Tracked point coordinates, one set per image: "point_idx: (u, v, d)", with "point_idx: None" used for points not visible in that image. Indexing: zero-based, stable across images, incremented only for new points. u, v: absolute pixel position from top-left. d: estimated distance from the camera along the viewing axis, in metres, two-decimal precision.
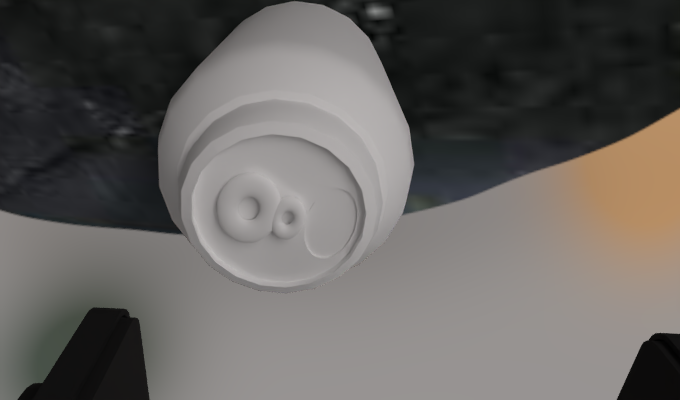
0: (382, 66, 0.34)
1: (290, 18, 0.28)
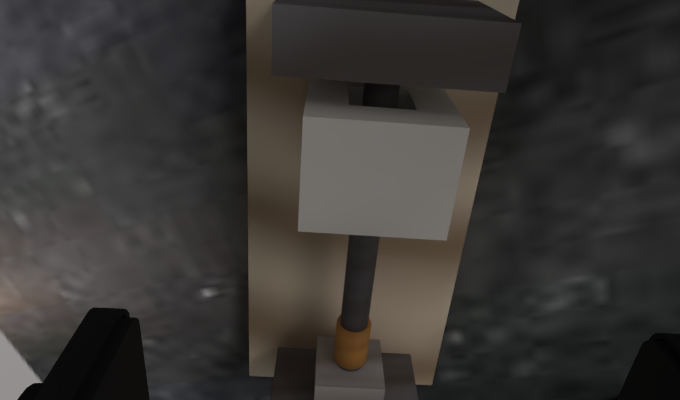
0: None
1: None
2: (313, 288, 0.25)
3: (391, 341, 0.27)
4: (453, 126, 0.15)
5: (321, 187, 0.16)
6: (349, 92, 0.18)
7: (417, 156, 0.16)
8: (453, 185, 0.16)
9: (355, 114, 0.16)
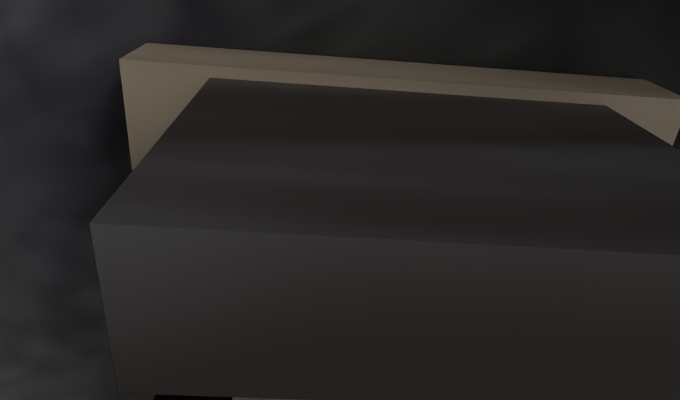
0: None
1: None
2: None
3: None
4: None
5: None
6: None
7: None
8: None
9: None
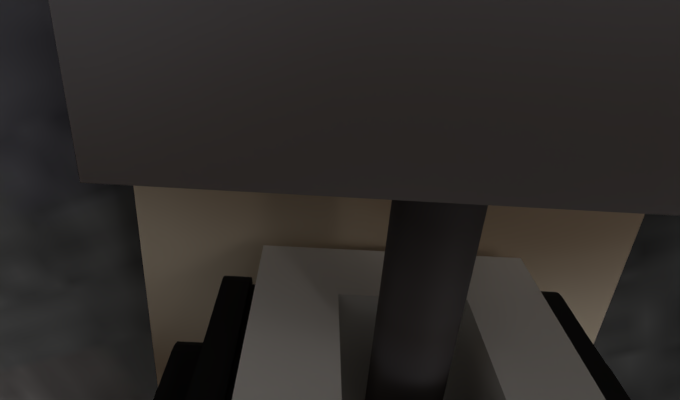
0: None
1: None
2: None
3: None
4: None
5: None
6: (342, 304, 0.09)
7: None
8: None
9: None
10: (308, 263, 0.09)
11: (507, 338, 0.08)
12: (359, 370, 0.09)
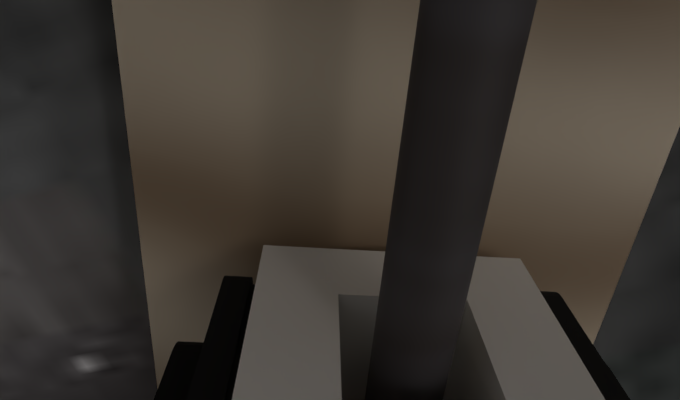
0: None
1: None
2: None
3: None
4: None
5: None
6: (341, 304, 0.09)
7: None
8: None
9: None
10: (308, 264, 0.09)
11: (507, 338, 0.08)
12: (359, 370, 0.09)
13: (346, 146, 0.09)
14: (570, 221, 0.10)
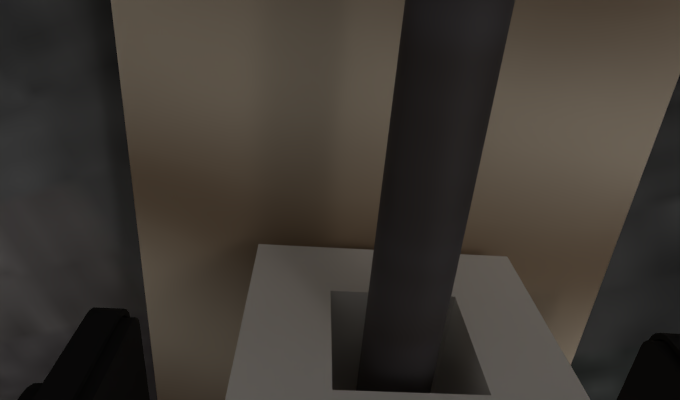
0: None
1: None
2: None
3: None
4: None
5: None
6: (334, 301, 0.09)
7: None
8: None
9: None
10: (302, 262, 0.10)
11: (492, 332, 0.08)
12: (351, 365, 0.10)
13: (338, 147, 0.10)
14: (556, 220, 0.11)
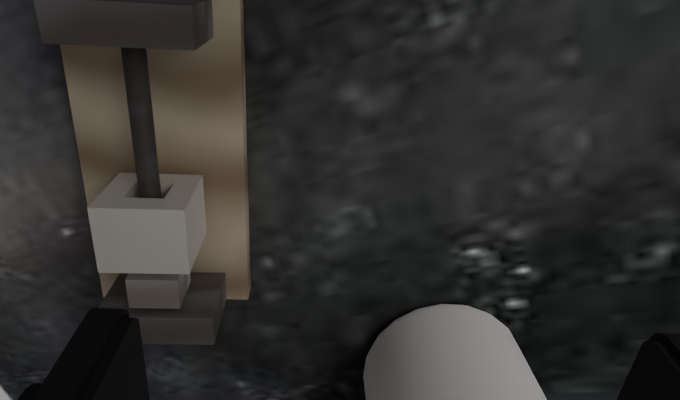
0: None
1: (478, 386, 0.31)
2: None
3: (208, 262, 0.35)
4: (174, 209, 0.27)
5: (106, 246, 0.28)
6: (137, 185, 0.30)
7: (158, 226, 0.27)
8: (183, 242, 0.28)
9: (121, 204, 0.27)
10: (131, 176, 0.31)
11: (177, 189, 0.29)
12: None
13: None
14: (221, 163, 0.32)
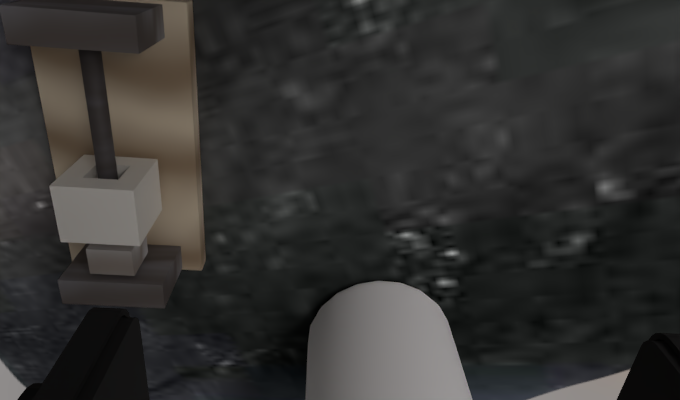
0: (453, 340, 0.42)
1: (393, 352, 0.35)
2: None
3: (165, 236, 0.39)
4: (125, 189, 0.31)
5: (67, 219, 0.32)
6: None
7: (111, 204, 0.32)
8: (134, 218, 0.32)
9: (79, 183, 0.31)
10: (93, 158, 0.35)
11: (131, 171, 0.34)
12: None
13: None
14: (174, 149, 0.36)
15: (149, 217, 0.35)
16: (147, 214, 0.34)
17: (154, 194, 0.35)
